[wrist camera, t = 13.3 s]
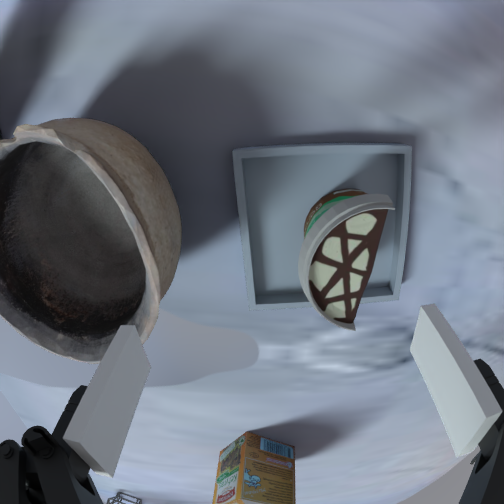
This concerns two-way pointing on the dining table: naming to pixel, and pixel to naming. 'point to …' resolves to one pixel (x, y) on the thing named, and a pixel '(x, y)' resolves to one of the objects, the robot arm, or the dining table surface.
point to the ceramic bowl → (83, 236)
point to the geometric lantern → (121, 499)
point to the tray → (299, 204)
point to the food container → (341, 251)
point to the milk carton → (255, 472)
